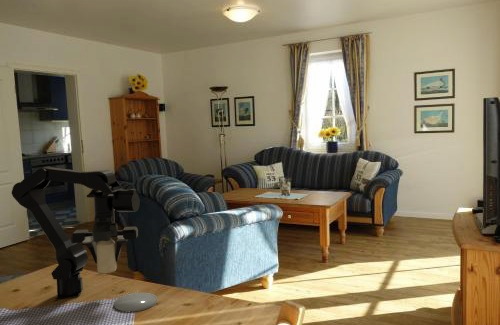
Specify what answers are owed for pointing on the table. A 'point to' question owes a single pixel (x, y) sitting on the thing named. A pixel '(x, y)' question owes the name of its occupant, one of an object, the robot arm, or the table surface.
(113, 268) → the candle
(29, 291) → the table surface
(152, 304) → the slate plate
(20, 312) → the table surface
